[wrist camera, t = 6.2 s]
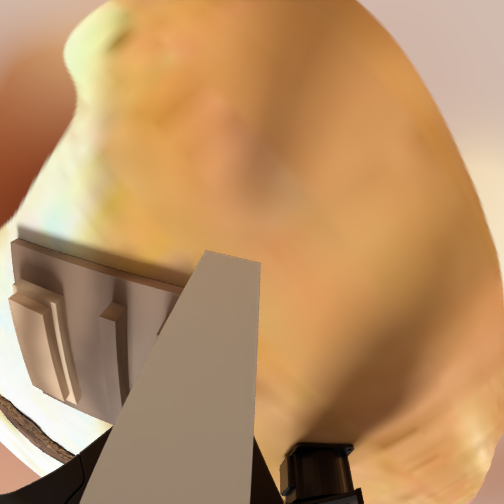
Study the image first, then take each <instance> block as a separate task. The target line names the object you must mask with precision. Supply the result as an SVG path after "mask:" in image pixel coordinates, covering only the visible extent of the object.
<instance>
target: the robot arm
mask: <svg viewBox="0 0 504 504" xmlns="http://www.w3.org/2000/svg"><path fill="white" fill-rule="evenodd" d="M112 428H113V426H112V427H111V428H110V429H109V430H107V431H106V432H105V433H104V434H102V435H101V436H100V437H99V438H97V439H96V440H95V441H94V442H92V443H91V444H90V445H89V446H87V447H86V448H85V449H84V450H82V451H81V452H80V453H79V454H80V455H79V454H77V455H76V456H74V457H73V458H72V459H71V460H69V461H68V462H66V463H65V464H64V465H62V466H61V467H59V468H58V469H56V470H55V471H53V472H51V473H49V474H48V475H46V476H44V477H42V478H40V479H38V480H37V481H34V482H32V483H30V484H29V485H26V486H24V487H22V488H20V489H18V490H16V491H13V492H10V493H7V494H0V504H79V503H80V501H81V498H82V496H83V494H84V491H85V489H86V487H87V484H88V482H89V479H90V477H91V475H92V473H93V470H94V468H95V466H96V463H97V461H98V459H99V457H100V454H101V452H102V450H103V448H104V446H105V443H106V441H107V439H108V437H109V435H110V433H111V431H112ZM353 450H354V446H353V445H335V444H309V443H299V444H297V445H296V446H295V447H294V449H293V450H292V452H291V453H290V454H289V455H288V456H287V457H286V458H285V460H284V461H283V463H282V464H281V465H280V493H279V491H278V489H277V487H276V484H275V482H274V480H273V478H272V476H271V474H270V471H269V469H268V467H267V465H266V463H265V460H264V458H263V456H262V453H261V451H260V449H259V447H258V444H257V442H256V440H255V437H254V435H253V455H252V473H251V492H250V504H283V503H284V501H283V499H282V497H281V495H282V496H286V504H364V501H363V496H362V491H361V488H357V489H356V490H354V487H353V481H352V476H351V471H350V466H349V461H348V455H349V454H350V453H351V452H352V451H353ZM280 494H281V495H280Z"/></svg>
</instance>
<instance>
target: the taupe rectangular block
mask: <svg viewBox="0 0 504 504" xmlns="http://www.w3.org/2000/svg"><path fill="white" fill-rule="evenodd" d="M260 270H261V263H259V262H255V261H250V260H246V259H242V258H238V257H233V256H229V255H225V254H220V253H216V252H212V251H208V250H205V252H204V254H203V256H202V257H201V259H200V261H199V263H198V264H197V266H196V268H195V270H194V272H193V273H192V275H191V277H190V279H189V281H188V282H187V284H186V286H185V288H184V290H183V291H182V293H181V295H180V297H179V299H178V301H177V302H176V304H175V306H174V308H173V310H172V312H171V313H170V315H169V317H168V319H167V321H166V323H165V325H164V327H163V328H162V330H161V332H160V334H159V336H158V338H157V340H156V342H155V344H154V346H153V348H152V349H151V351H150V353H149V355H148V357H147V359H146V361H145V363H144V365H143V367H142V369H141V371H140V373H139V375H138V377H137V379H136V381H135V383H134V385H133V387H132V389H131V391H130V393H129V395H128V397H127V399H126V401H125V403H124V405H123V407H122V409H121V412H120V414H119V416H118V418H117V420H116V422H115V424H114V426H113V428H112V431H111V433H110V435H109V437H108V439H107V441H106V443H105V446H104V448H103V450H102V452H101V454H100V457H99V459H98V461H97V463H96V466H95V468H94V470H93V473H92V475H91V477H90V479H89V482H88V484H87V487H86V489H85V491H84V494H83V496H82V498H81V501H80V503H79V504H250V492H251V473H252V455H253V435H254V414H255V393H256V371H257V347H258V323H259V297H260Z"/></svg>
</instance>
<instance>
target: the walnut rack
mask: <svg viewBox="0 0 504 504" xmlns="http://www.w3.org/2000/svg"><path fill="white" fill-rule="evenodd" d="M11 253H12V263H13V272H14V279H15V283H16V282H17V281H18V280H20V279H23V280H25V281H28V282H30V283H32V284H35V285H37V286H40V287H42V288H44V289H47V290H49V291H52V292H54V293H57V294H59V295H62V296H64V301H65V310H66V318H67V326H68V333H69V339H70V345H71V351H72V356H73V361H74V366H75V371H76V376H77V380H78V384H79V388H80V392H81V396H82V397H81V399H80V401H79V402H78V404H77V405H76V404H74V403H72V402H69V401H67V400H65V402H64V401H62V400H60V399H58V398H56V397H54V396H52V395H50V394H48V393H46V392H44V391H43V393H45V394H47V395H49V396H51V397H53V398H54V399H56V400H58V401H60V402H62V403H64V404H66V405H69V406H71V407H73V408H75V409H77V410H79V411H81V412H84V413H86V414H88V415H90V416H93V417H95V418H98V419H100V420H102V421H105V422H108V423H110V424H113V426H114V424H115V422H116V420H117V418H118V416H119V414H120V412H121V409H122V407H123V405H124V403H125V401H126V399H127V397H128V395H129V393H130V391H131V389H132V387H133V385H134V383H135V381H136V379H137V377H138V375H139V373H140V371H141V369H142V367H143V365H144V363H145V361H146V359H147V357H148V355H149V353H150V351H151V349H152V348H153V346H154V344H155V342H156V340H157V338H158V336H159V334H160V332H161V330H162V328H163V327H164V325H165V323H166V321H167V319H168V317H169V315H170V313H171V312H172V310H173V308H174V306H175V304H176V302H177V301H178V299H179V297H180V295H181V293H182V291H183V290H184V287H180V286H176V285H172V284H168V283H164V282H160V281H157V280H153V279H149V278H145V277H142V276H138V275H135V274H131V273H127V272H124V271H120V270H117V269H113V268H110V267H106V266H103V265H100V264H96V263H93V262H90V261H86V260H83V259H80V258H76V257H73V256H70V255H67V254H64V253H61V252H57V251H54V250H51V249H48V248H45V247H42V246H39V245H36V244H33V243H30V242H27V241H24V240H21V239H19V238H18V239H16V240H14V241H12V242H11Z"/></svg>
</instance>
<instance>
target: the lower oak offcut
mask: <svg viewBox="0 0 504 504" xmlns="http://www.w3.org/2000/svg"><path fill="white" fill-rule="evenodd" d="M13 291H14V294H15V293H16V292H19V293H21V294H23V295H25V296H27V297H29V298H31V299H34V300H36V301H38V302H40V303H43V304H45V305H47V306H50V307H51V308H52V315H53V321H54V327H55V333H56V338H57V343H58V348H59V353H60V358H61V362H62V366H63V370H64V374H65V378H66V382H67V386H68V389H69V393H70V394H69V396H68V397H67V399H66V400H67V401H69V402H72V403H74V404H76V405H77V404H78V402H79V401H80V399H81V397H82V396H81V392H80V388H79V384H78V380H77V376H76V371H75V366H74V361H73V356H72V351H71V345H70V339H69V333H68V326H67V318H66V310H65V301H64V296H62V295H59V294H57V293H54V292H52V291H49V290H47V289H44V288H42V287H40V286H37V285H35V284H32V283H30V282H28V281H25V280H23V279H20V280H18V281H17V282H16V283H14V284H13Z"/></svg>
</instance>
